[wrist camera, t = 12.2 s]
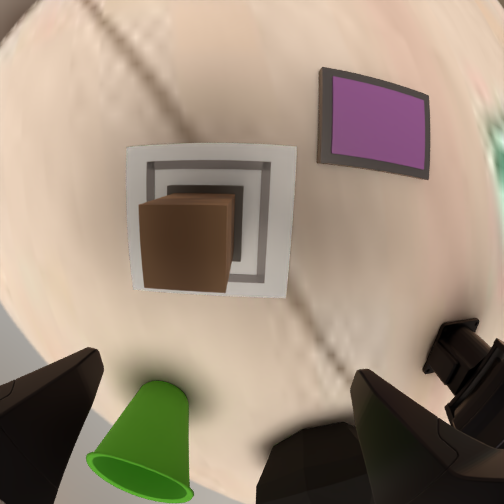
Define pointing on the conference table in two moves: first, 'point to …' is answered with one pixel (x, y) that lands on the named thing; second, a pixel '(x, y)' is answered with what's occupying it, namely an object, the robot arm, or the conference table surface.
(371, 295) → the conference table surface
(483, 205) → the conference table surface
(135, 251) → the frame
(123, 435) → the cup
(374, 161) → the ink pad
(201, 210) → the stamp
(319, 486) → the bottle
